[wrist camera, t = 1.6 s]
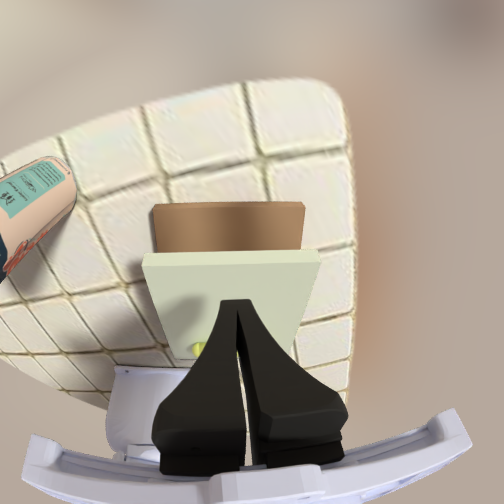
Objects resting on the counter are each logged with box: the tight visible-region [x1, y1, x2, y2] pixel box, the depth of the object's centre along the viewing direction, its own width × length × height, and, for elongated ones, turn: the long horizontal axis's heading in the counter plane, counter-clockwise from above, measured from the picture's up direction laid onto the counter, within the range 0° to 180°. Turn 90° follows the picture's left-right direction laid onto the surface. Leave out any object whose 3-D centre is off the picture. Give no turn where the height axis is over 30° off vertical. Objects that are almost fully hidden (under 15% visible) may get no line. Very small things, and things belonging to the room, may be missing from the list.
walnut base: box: [153, 202, 305, 253], centre depth 22 cm, size 10×14×1 cm
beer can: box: [0, 156, 77, 284], centre depth 12 cm, size 5×5×12 cm
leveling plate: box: [142, 249, 321, 360], centre depth 20 cm, size 10×12×2 cm
